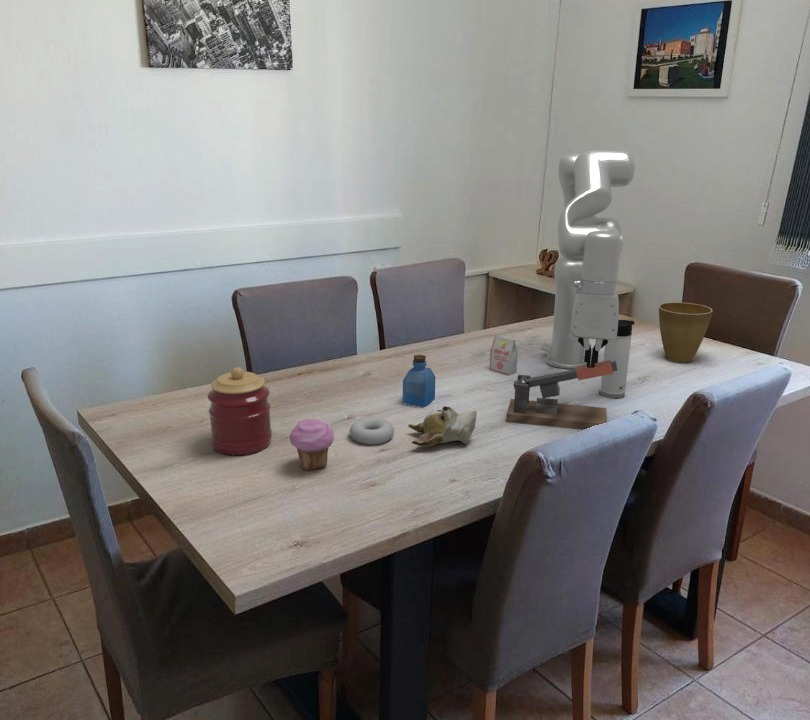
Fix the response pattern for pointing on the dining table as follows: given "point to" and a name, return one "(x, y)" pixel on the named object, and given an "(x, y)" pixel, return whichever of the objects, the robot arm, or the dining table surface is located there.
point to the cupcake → (312, 442)
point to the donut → (371, 430)
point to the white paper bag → (503, 356)
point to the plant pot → (683, 329)
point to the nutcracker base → (562, 416)
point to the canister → (239, 413)
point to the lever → (567, 377)
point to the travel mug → (617, 361)
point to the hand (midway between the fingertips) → (590, 365)
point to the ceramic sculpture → (445, 427)
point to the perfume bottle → (419, 384)
